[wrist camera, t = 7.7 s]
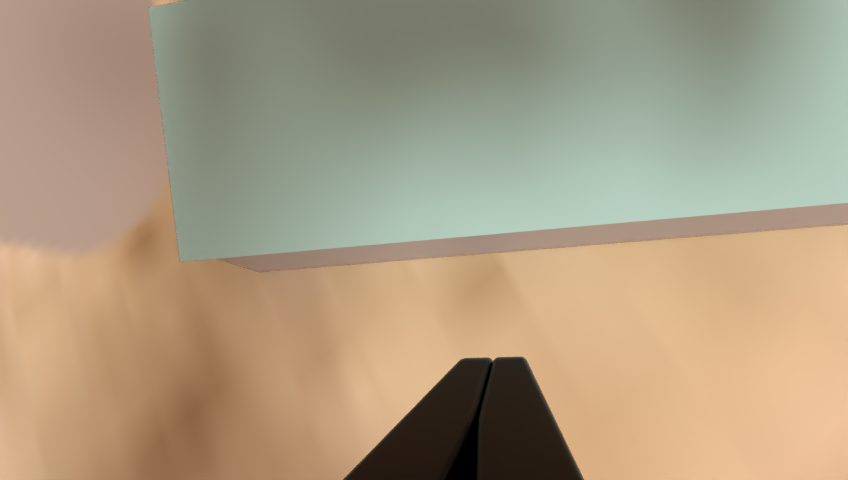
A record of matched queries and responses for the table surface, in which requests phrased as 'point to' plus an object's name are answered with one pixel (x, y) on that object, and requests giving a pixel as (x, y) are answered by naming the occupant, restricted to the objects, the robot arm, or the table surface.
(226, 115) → the duct cover
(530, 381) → the robot arm
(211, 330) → the table surface
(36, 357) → the table surface
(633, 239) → the cable duct
